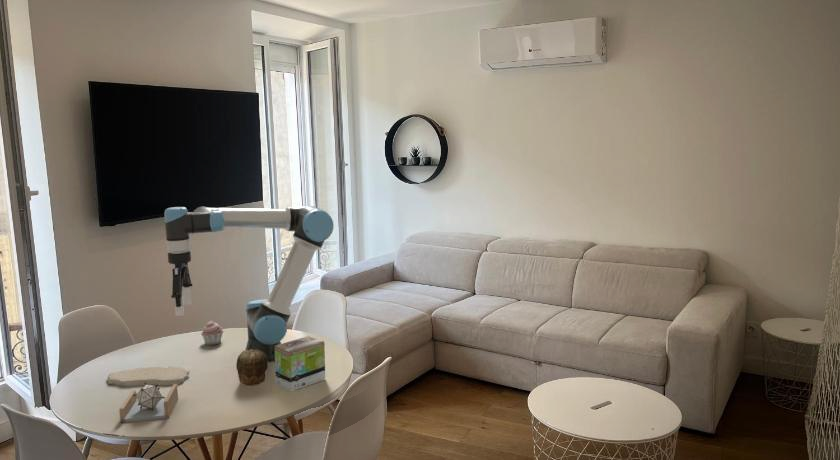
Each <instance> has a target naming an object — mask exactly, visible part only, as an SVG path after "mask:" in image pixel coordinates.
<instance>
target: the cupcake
mask: <svg viewBox="0 0 840 460" xmlns="http://www.w3.org/2000/svg"><path fill="white" fill-rule="evenodd" d="M224 331H225V330H223V327H222V326H221V325H220V324H219V323H217V322H214V321H213V320H209V321H208V322H207V323H206V324H205V326H204V327H203V328H202V331H201V333H200V335H201V336H202V339H203V341H204V344H205V345H206V346H215V345H219V344H220V343H221V342H222V337H223V333H224Z"/></svg>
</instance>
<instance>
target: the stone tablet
mask: <svg viewBox="0 0 840 460" xmlns="http://www.w3.org/2000/svg"><path fill="white" fill-rule="evenodd" d="M189 378H190V370H188V369H185V368H182V367H180V366H179V367H177V366H168V367H165V366H161V367H160V366H159V367H158V366H153V367H152V366H151V367H138V368H131V369H125V370H120V371H117V372H116V371H115V372H111V373H109V374H108V375H107V383H108V385H115V386H116V385H117V386H120V387H121V386H122V387H137V386H139V387H140V386H145V382H146V384H147V385H153V386H156V384H158V386H173V384H177V385H179V384H180V385H181V384H183V383H185V381H186V380H188V379H189Z"/></svg>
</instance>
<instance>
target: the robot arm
mask: <svg viewBox="0 0 840 460" xmlns="http://www.w3.org/2000/svg"><path fill="white" fill-rule="evenodd" d="M334 226H335V225H334V221H333V218H332V216H331V215H330V214H329V213H328V212H327V210H324V209H322V208H319V207H317V206H311V205H306V206H287V207H285V208H283V209H281V208H280V209H279V208H276V209H275V208H240V207H239V208H234V207H233V208H232V207H207V206H199V207H197V208H196V209H195V210H193V212H192V211H191V212H190V211H188V209H187V207H185V206H174V207H173V206H172V207H168V208H166V209H165V210H164V229H165V237H166V238H165V239H166V242H165V243H164V244H165V246H166V248H167V252H168V253H167V262H168V263H169V264H171V265H174V268H172V293H171V296H170V297H171V299H173V301H174V303H173V304H174V312H175V317H177V316H180V317H181V316H185V308H184V307H185V306H191V305H192V304H193V303H192V293H191V287H193V283H192V280H191V275H190V269H189V263H190V262H191V261H192V255H191V254H192V253H191V251H190V250H191V244H190V243H191V242H190V241H191V240H190V235H191V234H192V235H193V234H202V233H203V234H204V233H205V234H206V233H216V232H222V231H224V228H225V229H227V228H228V229H277V230H278V229H279V230H282V229H283V230H285V231H286V232H293V234H292V237H293V241H294V242H293V244H292V247H291V248H290V251H289V253H288V256H287V258H286V260H285V261H284V264H283V266H282V269H281V270H280V273H279V274H278V277H277V279H276V281H275V282H274V285H273V287H272V290H271V292H270V294H269V296H268V298H266V299H265V298H264V299H256V300H252V301H251V300H250V301H249V302H246V305H245V307H246V308H245V312H246V327H247V342H246V347H245V350H250V349H252V350H256V349H258V350H260V351H262V352H264V353H265V354H266V356H267V359H268V363H271V362H275V346H276V345H279V344H282V342H281V341H282V340H283V339H284V338H285V336H286V334H287V331H288V325H287V323H288V321H289V320H290V317H291V315H292V312H291V310H290V307H291V306H292V302H294V298H295V296H296V295H297V292H298V290H299V288H300V286H301V283H302V281H303V279H304V277H305V275H306V273H307V270H308V268H309V267H310V264H311V261H312V259H313V257H314V255H315V253H316V251H318V250H321V249H322V247H323V245H324V243H325V241H326V240H327V239H329V238H330V237H331V235H332V234H333V231H334Z"/></svg>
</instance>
